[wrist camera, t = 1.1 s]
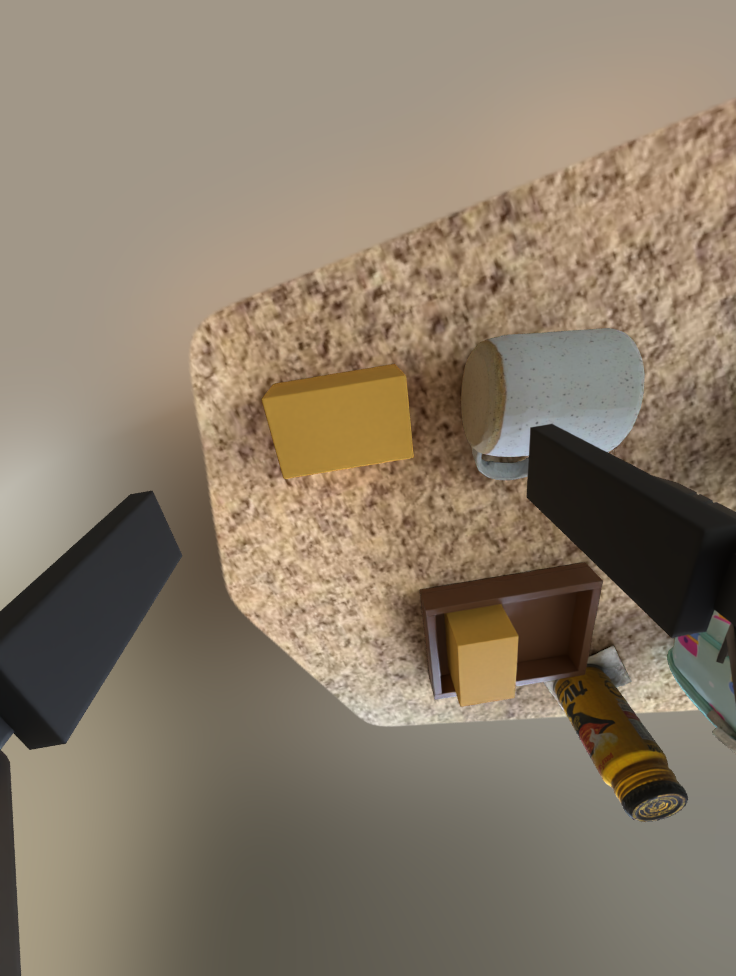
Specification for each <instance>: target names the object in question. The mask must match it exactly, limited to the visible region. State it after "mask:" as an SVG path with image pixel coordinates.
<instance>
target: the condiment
mask: <svg viewBox="0 0 736 976" xmlns="http://www.w3.org/2000/svg"><path fill="white" fill-rule="evenodd" d="M629 682H632V681H631V679H630V677H629V676H628V674H627V672H626V670H625V668H624V666H623V664H622V662H621V660H620V658H619V656H618V654H617V652H616V650H615V648H614V646H611V647H609V648H608V649H606V650H603V651H600V652H598V653H597V654H595V655H592V656H590V657H588V662H587V667H586V672H585V675H581V676H575V677H569V678H563V679H557V680H551V681H545V682H543V683H544V684H545V685H546V687H547V688H548V690H549V691H550V693H551V694H552V695H553V697H554V698H555V700H556V701H557V703H558V704H559V706H560V707H561V708H562V710H564V711H565V713H566V715H567V717H568V718H569V720H570V722H571V724H572V726H573V727H574V729H575V731H576V733H577V734H578V736H579V738H580V740H581V741H582V743H583V745H584V747H585V749H586V750H587V752H588V754H589V755H590V758H591V759H592V761H593V763H594V764H595V766H596V768H597V770H598V772H599V774H600V775H601V777H602V779H603V781H604V782H605V783H606V784H608V785H609V786H611V787H612V788H613V789H614V793H615V794H616V796H617V798H618V799H619V800H620V802H621V804H622V806H623V809H624V810H625V812H626V813H627V814H628V815H629V816H630V817H631V818H632V819H633V820H637V821H641V822H650V821H656V820H657V821H658V820H660V819H664V818H668V817H670V816H672V815H674V814H676V813H677V812H679V811H680V810H682V808H683V807H684V806H685V805H686V803H687V800H688V796H687V793H686V791H685V790H684V788H683V787H682V786H681V785H680V784H679V782H678V781H677V780H676V776H675V775H674V773H673V772H672V770H670V769H669V768H668V763H667V759H666V756H665V754H664V753H663V751H662V750H661V749H660V747H659V746H658V745H657V743H656V742H655V740H654V739H653V738H652V736H651V735H650V733H649V732H648V731H647V729H646V728H645V727H644V725H643V724H642V723H641V721H640V719H639V718H638V717H637V716H636V714H635V713H634V711H633V710H632V709H631V707H630V706H629V704H628V703H627V701H626V700H625V699H624V697H623V696H622V695H621V693H620V692H619V690H618V689H617V688H616V687H619V686H623V685H625V684H627V683H629Z"/></svg>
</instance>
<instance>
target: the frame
mask: <svg viewBox="0 0 736 976" xmlns="http://www.w3.org/2000/svg"><path fill="white" fill-rule="evenodd" d="M602 583H603V580H602V579H601V578H600V577H599V576H598V575H597V574H596V573H595V572H594V571H593V570H592V569H591V568H590V567H589V566H588V565H587V564H586V563H585V562H584V563H578V564H572V565H566V566H560V567H554V568H548V569H542V570H536V571H530V572H524V573H518V574H512V575H506V576H500V577H494V578H488V579H482V580H475V581H469V582H463V583H457V584H451V585H445V586H439V587H433V588H427V589H421V590H420V597H421V606H422V615H423V625H424V634H425V643H426V653H427V662H428V671H429V679H430V683H431V687H432V691H433V695H434V699H435V700H436V699H442V698H448V697H454V696H457V694H456V691H455V688H454V684H453V681H452V678H451V674H450V671H449V668H448V659H447V645H446V631H445V616H444V614H445V613H451V612H457V611H463V610H469V609H475V608H481V607H487V606H493V605H499V604H501V605H502V607H503V609H504V610H505V612H506V614H507V616H508V618H509V619H510V621H511V623H512V625H513V627H514V629H515V630H516V632H517V634H518V652H517V669H516V686H521V685H527V684H533V683H539V682H545V681H551V680H557V679H563V678H569V677H575V676H581V675H585V672H586V667H587V662H588V657H589V651H590V646H591V641H592V636H593V630H594V625H595V620H596V615H597V609H598V604H599V599H600V594H601V587H602Z"/></svg>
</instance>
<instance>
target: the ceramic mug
mask: <svg viewBox="0 0 736 976" xmlns="http://www.w3.org/2000/svg"><path fill="white" fill-rule="evenodd" d="M643 394H644V367H643V361H642V358H641V355H640V353H639V350H638V348H637V346H636V344H635V342H634V341H633V340H632V339H631V337H629V336H628V335H627V334H626V333H624V332H622V331H620V330H616V329H611V328H603V329H589V330H573V331H558V332H547V333H531V334H513V335H504V336H500V337H495V338H491V339H487V340H485V341H482V342H480V343H479V344H478V345H477V346H476V347H475V349H474V350H473V351H472V352H471V354H470V355H469V358H468V360H467V362H466V365H465V369H464V374H463V380H462V390H461V414H462V422H463V428H464V432H465V435H466V438H467V440H468V442H469V444H470V445H471V446H472V453H473V457H474V460H475V463H476V466H477V468H478V470H479V471H480V472H481V473H482V474H483V475H485V476H486V477H488V478H492V479H497V480H515V479H520V478H524V477H527V476H528V462H529V457H528V458H526V459H525V460H522V461H518V462H515V463H499V462H493V461H484V460H483V459H482V458H481V456H482V454H487V455H493V456H499V457H516V456H529V443H530V427H536V426H542V425H547V424H554V425H556V426H557V427H559V428H561V429H563V430H565V431H567V432H569V433H571V434H573V435H575V436H577V437H579V438H581V439H583V440H585V441H586V442H588V443H590V444H592V445H594V446H596V447H598V448H600V449H602V450H604V451H606V452H609V451H611V450H612V449H614V448H615V447H617V446H618V445H619V444H620V443H621V442H622V441H623V440H624V438H625V437H626V436H627V435H628V434H629V432H630V431H631V429H632V427H633V425H634V423H635V421H636V419H637V415H638V414H639V411H640V408H641V404H642V399H643Z"/></svg>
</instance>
